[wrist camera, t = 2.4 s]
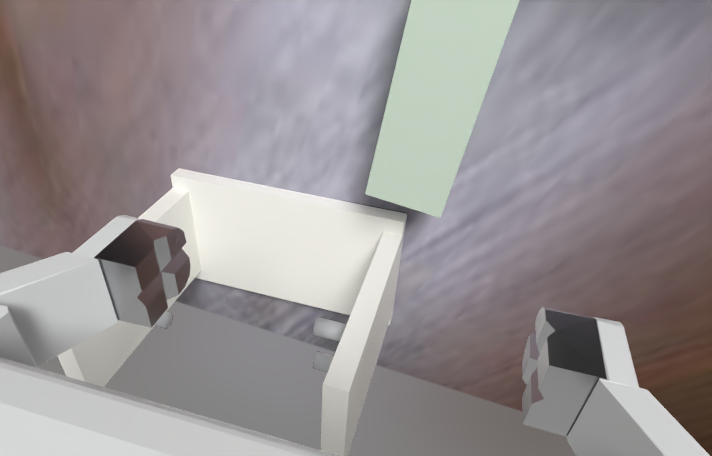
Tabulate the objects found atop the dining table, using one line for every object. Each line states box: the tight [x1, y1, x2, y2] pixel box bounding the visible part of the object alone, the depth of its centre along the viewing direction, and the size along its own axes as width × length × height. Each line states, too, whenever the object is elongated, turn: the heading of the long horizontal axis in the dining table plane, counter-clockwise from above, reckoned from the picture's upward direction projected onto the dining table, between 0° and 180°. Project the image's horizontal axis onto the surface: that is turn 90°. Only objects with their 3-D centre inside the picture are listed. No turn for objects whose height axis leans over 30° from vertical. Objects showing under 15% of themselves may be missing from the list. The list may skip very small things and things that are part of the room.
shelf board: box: [365, 0, 519, 218], centre depth 23 cm, size 12×4×5 cm, turn 168°
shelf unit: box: [58, 168, 407, 456], centre depth 30 cm, size 16×9×13 cm, turn 86°
